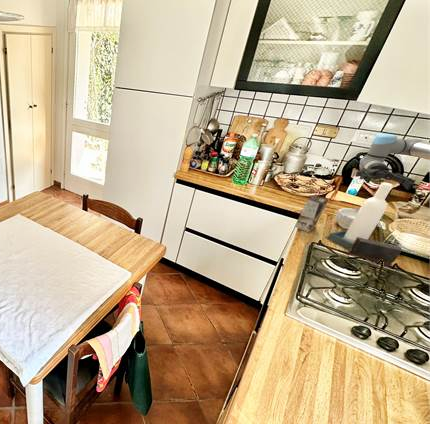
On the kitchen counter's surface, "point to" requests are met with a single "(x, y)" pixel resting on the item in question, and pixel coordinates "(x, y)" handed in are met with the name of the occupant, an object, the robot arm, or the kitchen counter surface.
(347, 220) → the paper bowls
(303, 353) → the kitchen counter surface
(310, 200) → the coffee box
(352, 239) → the bottle
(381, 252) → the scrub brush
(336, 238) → the drying tray
